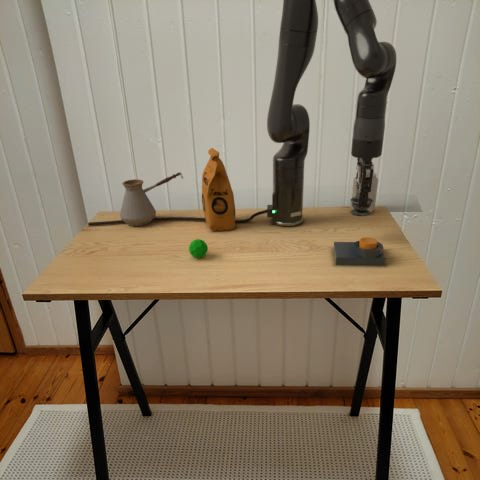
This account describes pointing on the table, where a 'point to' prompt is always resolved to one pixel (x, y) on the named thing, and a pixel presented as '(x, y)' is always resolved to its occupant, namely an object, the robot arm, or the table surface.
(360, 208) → the salt shaker
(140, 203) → the coffee pot
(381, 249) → the button box
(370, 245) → the button
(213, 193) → the coffee package
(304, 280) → the table surface
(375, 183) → the can
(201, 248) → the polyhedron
